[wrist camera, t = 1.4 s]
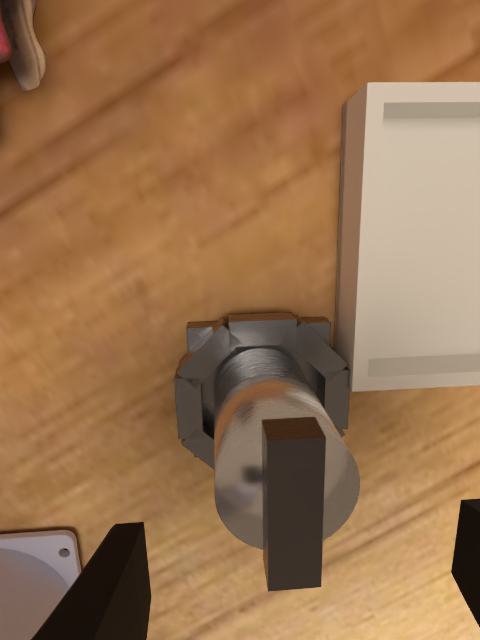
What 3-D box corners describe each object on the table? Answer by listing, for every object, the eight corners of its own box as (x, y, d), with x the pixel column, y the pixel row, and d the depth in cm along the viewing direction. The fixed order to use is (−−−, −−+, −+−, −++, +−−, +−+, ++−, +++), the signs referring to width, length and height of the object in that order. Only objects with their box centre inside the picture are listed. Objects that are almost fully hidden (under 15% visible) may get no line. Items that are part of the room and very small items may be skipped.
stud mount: (330, 446, 19) (345, 474, 17) (185, 454, 18) (181, 485, 16) (335, 305, 17) (353, 316, 15) (175, 311, 17) (170, 324, 15)
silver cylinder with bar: (305, 435, 17) (369, 583, 10) (216, 440, 17) (218, 595, 10) (306, 341, 16) (379, 434, 9) (211, 345, 16) (210, 443, 9)
